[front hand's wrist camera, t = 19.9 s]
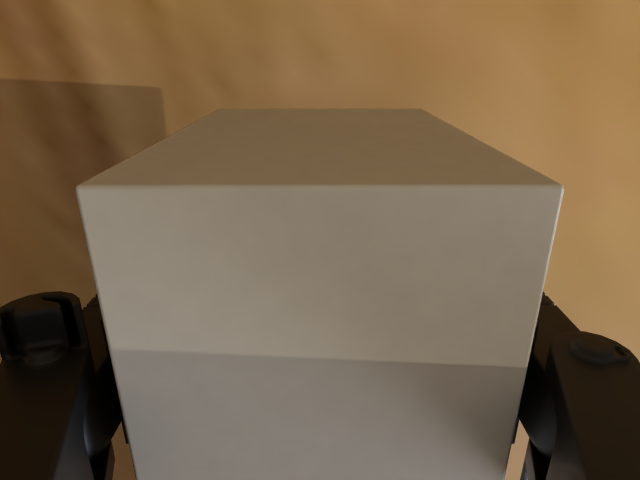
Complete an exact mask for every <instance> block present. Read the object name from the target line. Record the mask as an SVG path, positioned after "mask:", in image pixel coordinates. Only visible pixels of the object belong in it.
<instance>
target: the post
mask: <svg viewBox="0 0 640 480" xmlns="http://www.w3.org/2000/svg"><path fill="white" fill-rule="evenodd" d="M563 192H564V187H563V185H562V184H560V183H558V182H556V181H554V180H552V179H551V178H549V177H547V176H545V175H543V174H541V173H539V172H538V171H536V170H534V169H532V168H530V167H528V166H526V165H525V164H523V163H521V162H519V161H517V160H515V159H513V158H512V157H510V156H508V155H506V154H504V153H502V152H500V151H499V150H497V149H495V148H493V147H491V146H489V145H487V144H485V143H484V142H482V141H480V140H478V139H476V138H474V137H472V136H471V135H469V134H467V133H465V132H463V131H461V130H459V129H458V128H456V127H454V126H452V125H450V124H448V123H446V122H445V121H443V120H441V119H439V118H437V117H435V116H433V115H432V114H430V113H428V112H426V111H424V110H422V109H219V110H217V111H215V112H213V113H211V114H209V115H207V116H206V117H204V118H202V119H200V120H198V121H196V122H194V123H193V124H191V125H189V126H187V127H185V128H183V129H181V130H179V131H178V132H176V133H174V134H172V135H170V136H168V137H166V138H165V139H163V140H161V141H159V142H157V143H155V144H153V145H152V146H150V147H148V148H146V149H144V150H142V151H140V152H139V153H137V154H135V155H133V156H131V157H129V158H127V159H126V160H124V161H122V162H120V163H118V164H116V165H114V166H113V167H111V168H109V169H107V170H105V171H103V172H101V173H99V174H98V175H96V176H94V177H92V178H90V179H88V180H86V181H85V182H83V183H81V184H79V185H77V186H76V195H77V200H78V204H79V209H80V214H81V219H82V223H83V228H84V233H85V238H86V242H87V247H88V252H89V257H90V261H91V266H92V271H93V276H94V280H95V285H96V290H97V295H98V299H99V304H100V309H101V314H102V318H103V323H104V328H105V333H106V338H107V342H108V347H109V352H110V357H111V361H112V366H113V371H114V376H115V380H116V385H117V390H118V395H119V399H120V404H121V409H122V414H123V418H124V423H125V428H126V433H127V437H128V442H129V447H130V452H131V456H132V461H133V466H134V471H135V475H136V480H504V478H505V473H506V468H507V463H508V458H509V454H510V449H511V444H512V439H513V434H514V429H515V425H516V420H517V415H518V410H519V405H520V400H521V395H522V391H523V386H524V381H525V376H526V371H527V366H528V362H529V357H530V352H531V347H532V342H533V337H534V333H535V328H536V323H537V318H538V313H539V308H540V303H541V299H542V294H543V289H544V284H545V279H546V274H547V270H548V265H549V260H550V255H551V250H552V245H553V240H554V236H555V231H556V226H557V221H558V216H559V211H560V207H561V202H562V197H563Z"/></svg>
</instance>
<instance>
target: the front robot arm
mask: <svg viewBox="0 0 640 480" xmlns="http://www.w3.org/2000/svg"><path fill="white" fill-rule="evenodd" d="M0 354H1V357H2V362H1V364H0V480H112V477H113V469H114V462H115V458H114V451H113V446H112V442H111V439H112V437H113V435H114V433H115V431H116V430H117V428H118V426H119V424H120V422H121V421H122V426H123V431H124V436H125V440H126V444H129V442H128V437H127V433H126V428H125V423H124V418H123V414H122V409H121V404H120V399H119V395H118V390H117V385H116V380H115V376H114V371H113V366H112V361H111V357H110V352H109V347H108V342H107V338H106V333H105V328H104V323H103V318H102V314H101V309H100V304H99V299H98V295H97V294H96V298H93V299H92V300H91V301H90V302H89V303H88V304H87V307H84V308H83V309H82V308H81V303H80V299H79V297H77V296H76V295H74V294H73V293H67V292H61V291H60V292H44V293H39V294H34V295H29V296H26V297H23V298H20V299H17V300H14V301H11V302H9V303H8V304H6V305H4V306H2V307H0ZM519 419H520V421H521V423H522V425H523V427H524V428H525V430H526V432H527V434H528V436H529V442H528V446H527V451H526V455H525V460H524V464H523V469H522V473H521V478H520V480H640V363H639V361H638V359H637V358H636V357H635V356H634V355H633V353H632V352H631V351H630V350H629V349H627V348H625V347H624V346H622V345H621V344H619V343H618V342H616V341H613V340H611V339H609V338H606V337H604V336H601V335H597V334H593V333H589V332H584V331H580V330H579V329H578V328H577V327H576V326H575V325H574V324H573V323H572V322H571V321H570V320H569V319H568V317H567V316H566V315H565V314H564V313H563V312H562V311H561V310H560V309H559V308H558V307H557V306H554V303H553V302H552V301H551V299H550V298H549V297H548V296H545V293H544V292H543V294H542V299H541V303H540V308H539V313H538V318H537V323H536V328H535V333H534V337H533V342H532V347H531V352H530V357H529V362H528V366H527V371H526V376H525V381H524V386H523V391H522V395H521V400H520V405H519V410H518V415H517V420H516V425H515V429H514V434H513V439H512V444H514V442H515V438H516V433H517V428H518V423H519Z"/></svg>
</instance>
